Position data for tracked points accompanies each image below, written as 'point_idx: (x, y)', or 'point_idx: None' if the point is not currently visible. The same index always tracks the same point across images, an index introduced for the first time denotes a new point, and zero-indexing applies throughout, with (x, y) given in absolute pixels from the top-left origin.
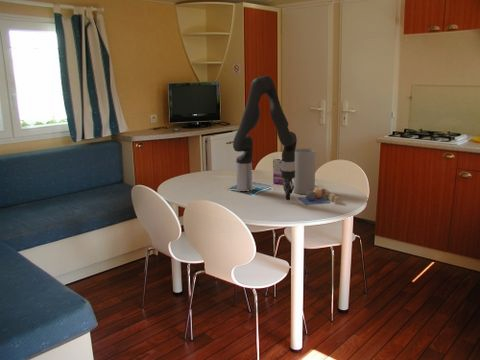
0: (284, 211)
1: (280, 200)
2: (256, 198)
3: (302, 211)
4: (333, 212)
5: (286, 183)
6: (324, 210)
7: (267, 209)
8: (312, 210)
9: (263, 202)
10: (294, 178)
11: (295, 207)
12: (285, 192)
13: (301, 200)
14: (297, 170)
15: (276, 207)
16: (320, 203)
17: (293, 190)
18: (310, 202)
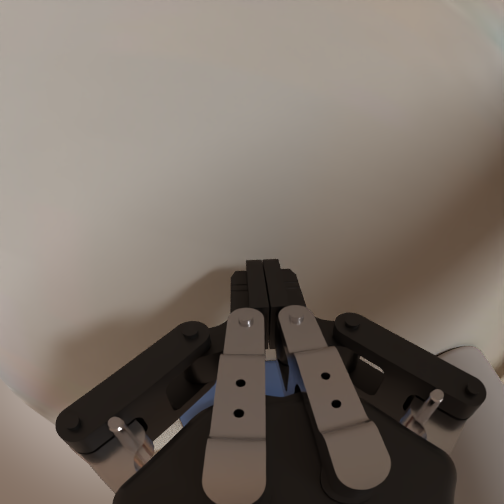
0: (2, 165)
1: (355, 209)
2: (471, 27)
3: (17, 293)
4: (45, 400)
5: (207, 477)
6: (62, 390)
7: (71, 11)
8: (47, 349)
9: (339, 9)
10: (496, 419)
11: (94, 280)
12: (292, 311)
13: (273, 364)
14: (491, 490)
15: (106, 100)
16: (180, 419)
17: (469, 349)
18: (207, 394)
